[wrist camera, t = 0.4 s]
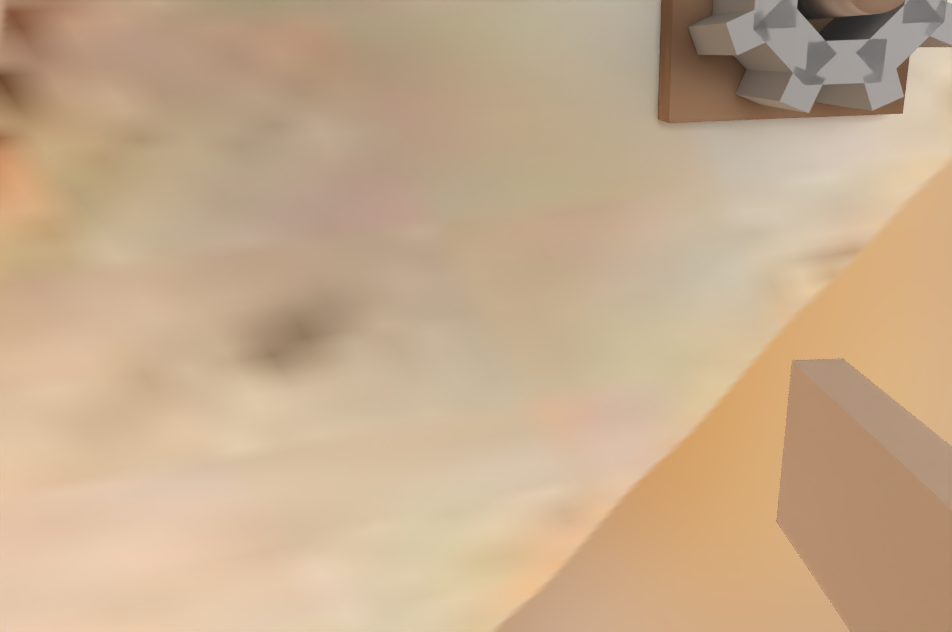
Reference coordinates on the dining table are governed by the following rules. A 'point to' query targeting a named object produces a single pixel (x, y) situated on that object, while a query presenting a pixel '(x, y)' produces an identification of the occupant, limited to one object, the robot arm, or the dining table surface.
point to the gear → (820, 50)
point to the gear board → (740, 66)
